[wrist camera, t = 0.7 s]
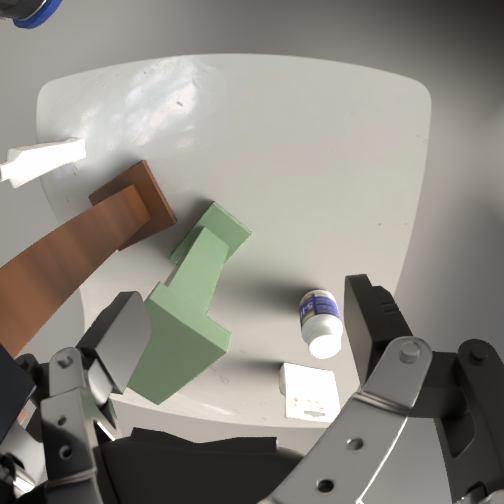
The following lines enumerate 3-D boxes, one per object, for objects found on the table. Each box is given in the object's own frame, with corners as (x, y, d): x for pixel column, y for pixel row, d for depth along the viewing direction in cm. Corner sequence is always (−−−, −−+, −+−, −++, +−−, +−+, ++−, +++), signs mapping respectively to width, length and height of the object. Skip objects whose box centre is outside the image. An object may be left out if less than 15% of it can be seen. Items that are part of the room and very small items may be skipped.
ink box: (327, 379, 48) (334, 432, 37) (278, 370, 47) (277, 425, 37) (334, 369, 46) (343, 423, 36) (284, 359, 46) (284, 416, 36)
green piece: (214, 201, 36) (148, 297, 17) (251, 231, 37) (227, 352, 18) (170, 255, 39) (98, 367, 20) (205, 282, 41) (158, 405, 22)
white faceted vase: (62, 163, 34) (-14, 192, 21) (65, 133, 32) (-13, 152, 19) (85, 168, 35) (9, 200, 21) (89, 138, 33) (10, 157, 19)
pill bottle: (304, 285, 40) (310, 327, 32) (340, 291, 40) (352, 333, 32) (294, 316, 42) (297, 359, 34) (328, 321, 42) (337, 364, 34)
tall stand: (151, 155, 34) (-98, 291, 5) (183, 217, 37) (20, 446, 8) (87, 197, 36) (-97, 332, 7) (117, 251, 40) (-29, 424, 11)
